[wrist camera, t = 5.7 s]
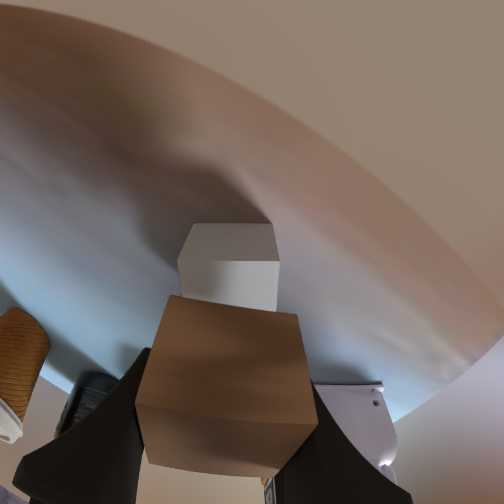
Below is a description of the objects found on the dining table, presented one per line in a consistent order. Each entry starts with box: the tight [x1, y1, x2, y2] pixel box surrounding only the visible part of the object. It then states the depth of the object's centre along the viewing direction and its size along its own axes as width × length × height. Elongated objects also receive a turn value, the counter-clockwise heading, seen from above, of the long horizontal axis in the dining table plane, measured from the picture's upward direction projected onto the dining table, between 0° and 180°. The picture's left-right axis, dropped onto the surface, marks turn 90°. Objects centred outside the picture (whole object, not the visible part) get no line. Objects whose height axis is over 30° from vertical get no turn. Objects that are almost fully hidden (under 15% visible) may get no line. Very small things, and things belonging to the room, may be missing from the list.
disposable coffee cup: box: [0, 308, 50, 444], centre depth 18 cm, size 10×10×12 cm
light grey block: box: [177, 223, 280, 312], centre depth 18 cm, size 5×5×5 cm
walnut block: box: [135, 295, 318, 478], centre depth 10 cm, size 5×5×5 cm
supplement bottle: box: [54, 372, 118, 439], centre depth 22 cm, size 7×7×12 cm
